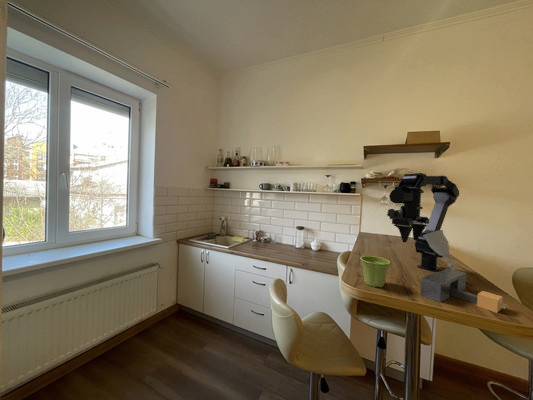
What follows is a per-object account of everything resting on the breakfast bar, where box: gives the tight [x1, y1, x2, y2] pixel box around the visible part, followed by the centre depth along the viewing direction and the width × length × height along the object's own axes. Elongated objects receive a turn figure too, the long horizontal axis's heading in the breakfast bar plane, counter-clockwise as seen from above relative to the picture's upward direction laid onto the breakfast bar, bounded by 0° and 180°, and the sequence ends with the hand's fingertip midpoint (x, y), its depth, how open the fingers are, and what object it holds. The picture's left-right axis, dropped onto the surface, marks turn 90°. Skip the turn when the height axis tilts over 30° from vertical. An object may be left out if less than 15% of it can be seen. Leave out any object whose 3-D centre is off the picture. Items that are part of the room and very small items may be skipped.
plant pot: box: [360, 255, 391, 288], centre depth 73 cm, size 9×9×9 cm
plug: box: [449, 287, 508, 314], centre depth 64 cm, size 16×4×4 cm, turn 30°
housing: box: [420, 268, 467, 303], centre depth 69 cm, size 20×5×6 cm, turn 120°
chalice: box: [423, 229, 467, 279], centre depth 81 cm, size 7×7×18 cm
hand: (410, 241), depth 86 cm, fingers open, 9 cm apart
